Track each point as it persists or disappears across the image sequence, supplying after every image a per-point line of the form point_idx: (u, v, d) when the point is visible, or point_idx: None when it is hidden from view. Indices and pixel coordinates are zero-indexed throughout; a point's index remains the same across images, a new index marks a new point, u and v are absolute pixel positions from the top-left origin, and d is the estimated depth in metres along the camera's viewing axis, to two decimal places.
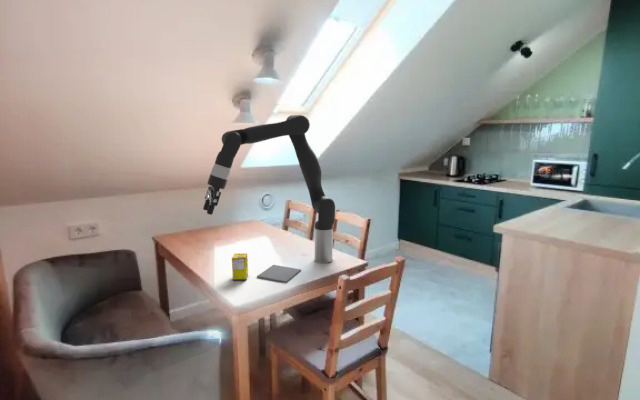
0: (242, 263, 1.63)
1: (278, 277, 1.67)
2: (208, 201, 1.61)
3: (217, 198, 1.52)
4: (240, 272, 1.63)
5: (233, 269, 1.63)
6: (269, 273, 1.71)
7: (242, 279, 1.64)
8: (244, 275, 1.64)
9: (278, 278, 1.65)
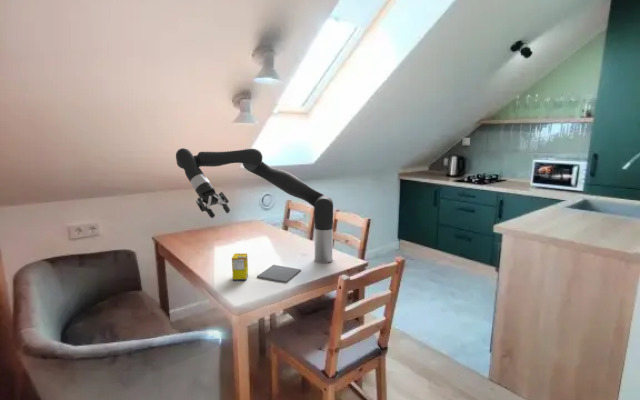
0: (242, 263, 1.63)
1: (278, 277, 1.67)
2: None
3: None
4: (240, 272, 1.63)
5: (233, 269, 1.63)
6: (269, 273, 1.71)
7: (242, 279, 1.64)
8: (244, 275, 1.64)
9: (278, 278, 1.65)
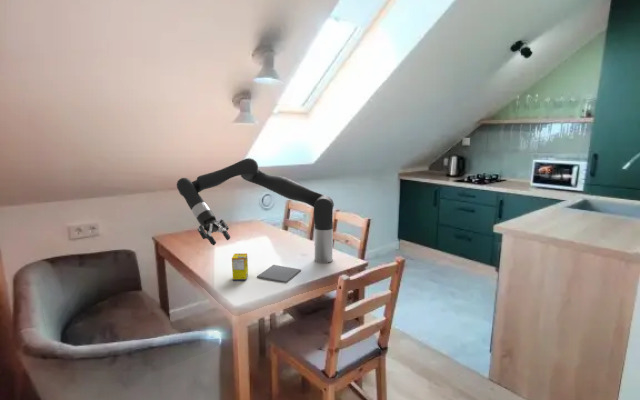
0: (242, 263, 1.63)
1: (278, 277, 1.67)
2: None
3: None
4: (240, 272, 1.63)
5: (233, 269, 1.63)
6: (269, 273, 1.71)
7: (242, 279, 1.64)
8: (244, 275, 1.64)
9: (278, 278, 1.65)
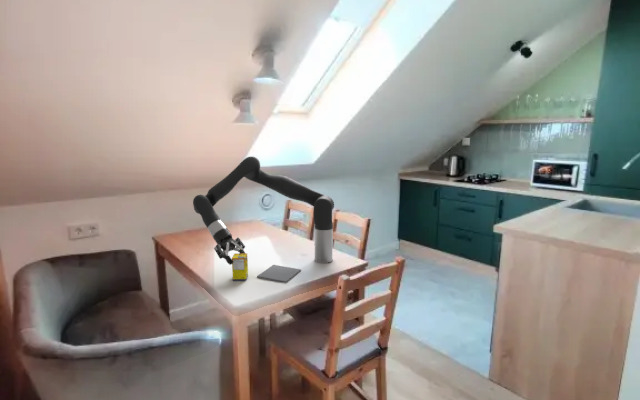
0: (242, 263, 1.63)
1: (278, 277, 1.67)
2: None
3: None
4: (240, 272, 1.63)
5: (233, 269, 1.63)
6: (269, 273, 1.71)
7: (242, 279, 1.64)
8: (244, 275, 1.64)
9: (278, 278, 1.65)
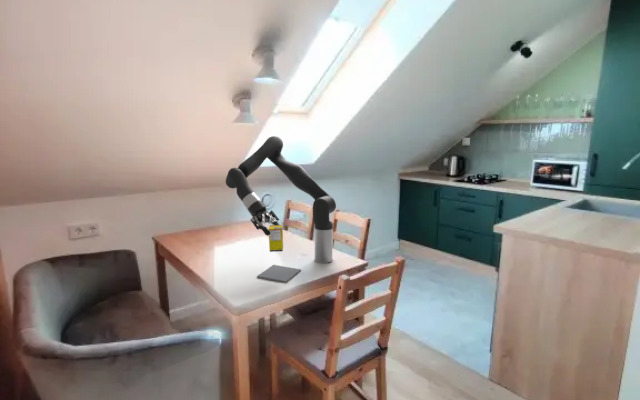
0: (279, 234, 1.64)
1: (278, 277, 1.67)
2: None
3: None
4: (276, 243, 1.65)
5: (270, 240, 1.65)
6: (269, 273, 1.71)
7: (278, 250, 1.66)
8: (281, 246, 1.65)
9: (278, 278, 1.65)
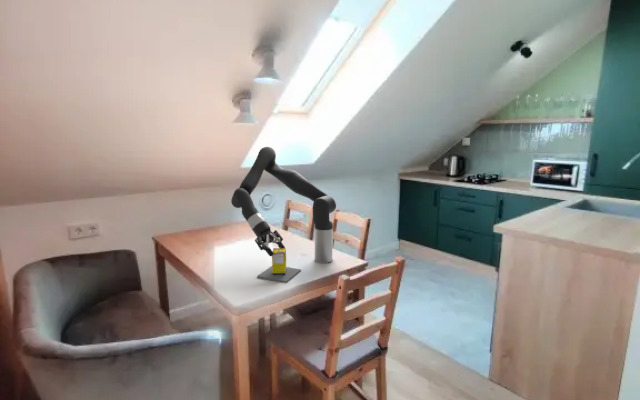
0: (282, 258, 1.67)
1: (278, 277, 1.67)
2: None
3: None
4: (279, 266, 1.68)
5: (273, 263, 1.68)
6: (269, 273, 1.71)
7: (281, 273, 1.69)
8: (283, 269, 1.69)
9: (278, 278, 1.65)
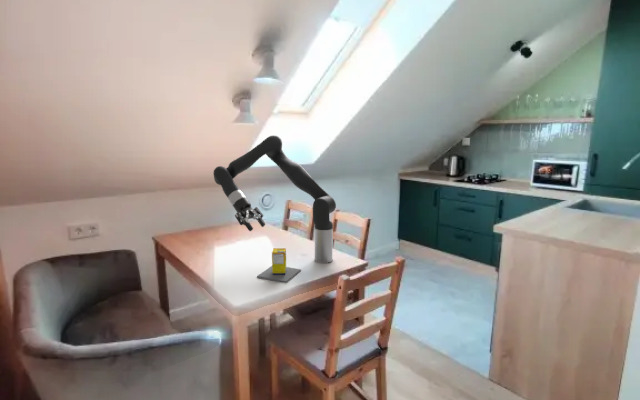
0: (282, 258, 1.67)
1: (278, 277, 1.67)
2: None
3: None
4: (279, 266, 1.68)
5: (273, 263, 1.68)
6: (269, 273, 1.71)
7: (281, 273, 1.69)
8: (283, 269, 1.69)
9: (278, 278, 1.65)
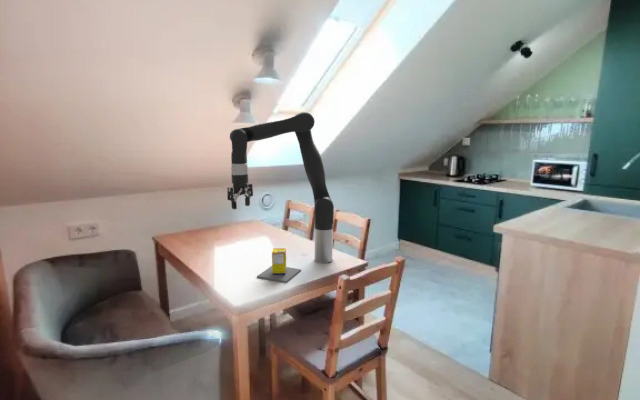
0: (282, 258, 1.67)
1: (278, 277, 1.67)
2: None
3: None
4: (279, 266, 1.68)
5: (273, 263, 1.68)
6: (269, 273, 1.71)
7: (281, 273, 1.69)
8: (283, 269, 1.69)
9: (278, 278, 1.65)
